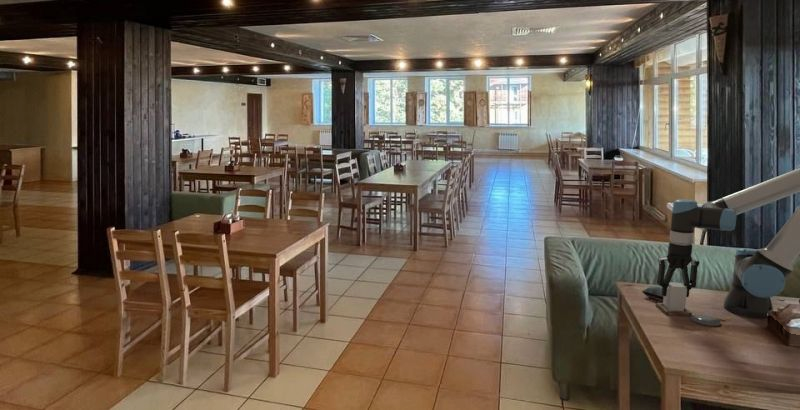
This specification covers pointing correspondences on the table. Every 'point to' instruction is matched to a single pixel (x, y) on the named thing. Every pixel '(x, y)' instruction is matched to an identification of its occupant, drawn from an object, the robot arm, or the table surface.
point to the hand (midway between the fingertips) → (673, 304)
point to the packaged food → (654, 292)
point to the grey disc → (705, 320)
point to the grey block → (676, 297)
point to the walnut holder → (683, 313)
